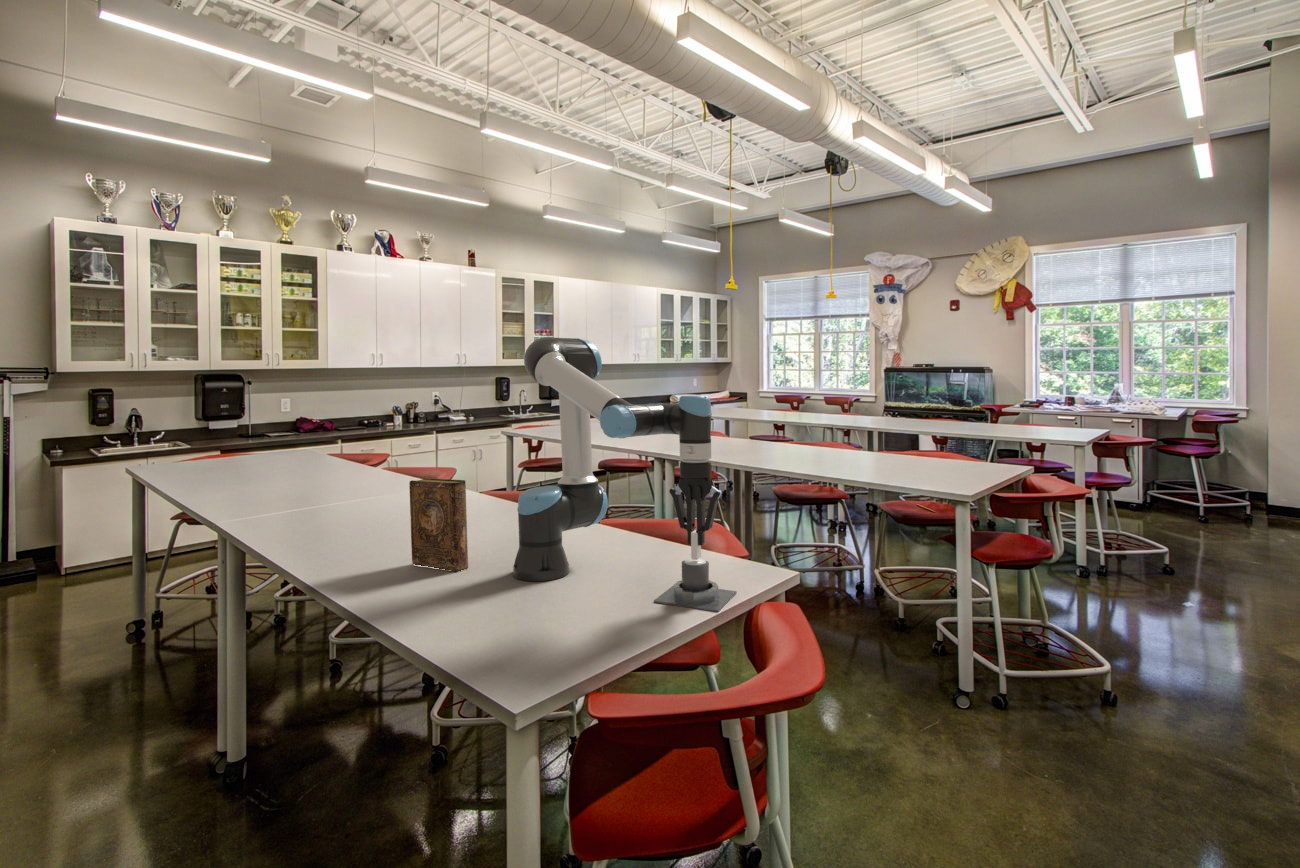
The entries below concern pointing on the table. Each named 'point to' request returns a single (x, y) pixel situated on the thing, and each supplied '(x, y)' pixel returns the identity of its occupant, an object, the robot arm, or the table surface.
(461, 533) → the book
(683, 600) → the barrel mount
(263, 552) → the table surface
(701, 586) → the lens barrel
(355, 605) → the table surface
